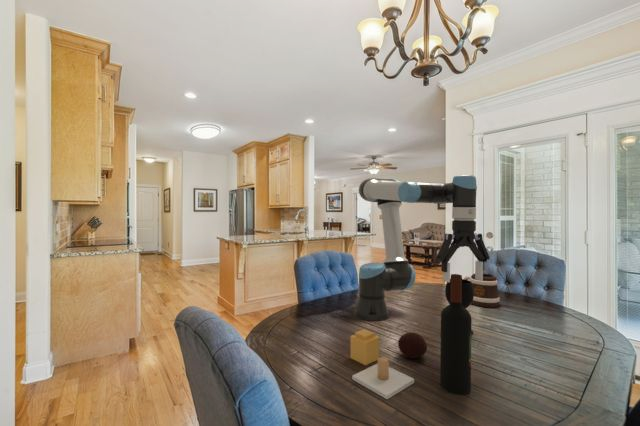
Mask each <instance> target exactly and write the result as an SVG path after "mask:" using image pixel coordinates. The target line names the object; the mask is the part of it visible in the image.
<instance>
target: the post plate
mask: <svg viewBox="0 0 640 426" xmlns="http://www.w3.org/2000/svg"><path fill="white" fill-rule="evenodd" d="M389 363H390V359H389V358H388V357H386V356H379V358H378V360H377V363H376V364H374V365H372V366H369V367H367V368H365V369H364V370H361V371H359V372H357V373H355V374H352V377H351V379H352V380H353V381H355V382H356V383H357V384H359V385H361V386H363V387H365V388H366V389H368V390H370V391H372V392H374V393H375V394H377V395H379V396H380V397H382V398H384V399H386V400H389V399H390V398H392V397H393V396H395V395H397V394H398V393H400V392H402V391H404V390H405V389H406V388H408V387H411V386H412V385H413V384H414V383H415V379H414V378H413V377H411V376H409V375H407V374H405V373H403V372H400V371H399V370H396V369H394V368H392V367H390V364H389Z"/></svg>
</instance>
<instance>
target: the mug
mask: <svg viewBox="0 0 640 426" xmlns="http://www.w3.org/2000/svg"><path fill="white" fill-rule="evenodd" d="M463 279H465V280H469V281H471V282H472V286H473V290H474V298H473V301H472V303H471V304H470V305H473V306H476V307H480V308H492V309H493V308H498V307H499V306H500V301H501V300H500V299H501V298H500V297H499V289H498V284H499V281H498V279H497V277H496V276H495V275H493V274H490V273H489V274H488V273H483V280H477V279H475V273H472V274H471V276H470V275H466V276H465V277H463Z"/></svg>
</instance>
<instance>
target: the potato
mask: <svg viewBox="0 0 640 426" xmlns="http://www.w3.org/2000/svg"><path fill="white" fill-rule="evenodd" d="M397 345H398V350H399V351H400V353H402V354H403V356H405V357H407V358H409V359H413V360H414V359H418V358H421V357H423V356H424V355H425V354H426V352H427V349H428V344H427V341H426V340H425V339H424V337H423V336H422V335H420V334H418V333H416V332H407V333H404V334H402V335H401V336H400V337H399V339H398V341H397Z"/></svg>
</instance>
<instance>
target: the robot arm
mask: <svg viewBox="0 0 640 426" xmlns="http://www.w3.org/2000/svg"><path fill="white" fill-rule="evenodd" d="M477 189H478V186H477V178H476V176H474V175H471V174H462V175H461V174H458V175H455V176H453V177H452V181H451V182H447V183H446V182H444V183H443V182H442V183H437V182H422V181H421V182H419V181H411V180H410V181H400V180H398V179H393V178H376V177H375V178H372V177H371V178H370V177H369V178H366V179H365V180H363V181H362V182H360V184H359V186H358V195H359V196H360V197H361V198H362V199H363V201H366V202H371V203H376V204H377V208H378V209H380V212H381V220H382V221H381V222H382V231H383V239H384V249H385V260H384V261H383V262H369V263H368V262H367V263H364V264H362V265H361V266H360V267H359V270H358V299H357V302H356V305H355V308H354V315H355V317H356V318H358V319H360V320H365V321H372V322H375V321H376V322H377V321H385V320H386V319H388V318H389V310H388V307H387V302H386V298H385V296H386V293H385V292H392V291H393V292H394V291H395V292H396V291H404V290H409V289H411V288H412V287H413V285H414V284H415V282H416V276H417V275H416V270H415V268H414V266H413V265H412V264H409V260H408V259H407V258H406V257H405V248H404V242H403V231H402V224H401V215H400V207H401V206H402V203H406V204H407V203H408V204H414V203H416V204H417V203H420V204H421V203H422V204H423V203H424V204H436V205H441V204H452V206H451V207H452V208H451V210H452V211H451V217H452V221H451V230H452V233H447V232H446V233H444V238H443V242H442V244H441V246H440V248H439V251H438V252H437V255H436V257H435V259H436V261H439V262H440V263H441V265H440V266H441V268H440V269H441V272H442V281H443V282H446V283H447V282H450V279H451V262H449V261H450V260H451V259H452V257H453V256H454V255H455V253H456V252H457V250H458V249H460V248H461V247H462V248H463V247H464V248H465V247H466V248H469V250H470V251H471V253H472V254H473V255H474V257H475V259H476V260H475V261H474V262H475V264H474V265H475V267H474V268H475V269H474V271H475V272H474V274H475V279H477V280H483V274H484V270H485V263H487V261H488V260H490V255H489V253H488V250H487V247H486V246H485V242H484V240H483V233H476V231H477V227H476V226H477V222H476V219H477V191H478V190H477Z"/></svg>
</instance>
